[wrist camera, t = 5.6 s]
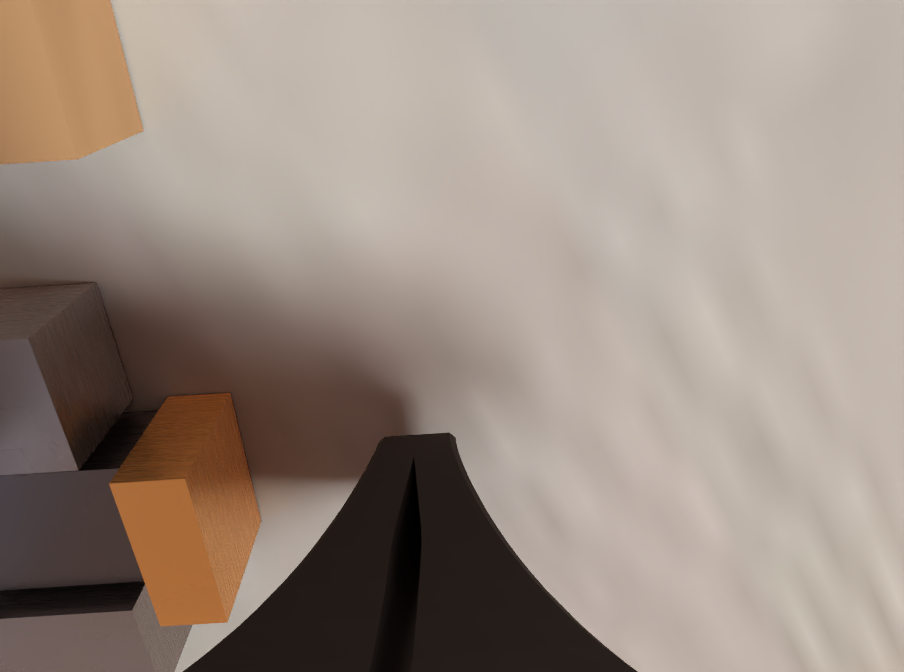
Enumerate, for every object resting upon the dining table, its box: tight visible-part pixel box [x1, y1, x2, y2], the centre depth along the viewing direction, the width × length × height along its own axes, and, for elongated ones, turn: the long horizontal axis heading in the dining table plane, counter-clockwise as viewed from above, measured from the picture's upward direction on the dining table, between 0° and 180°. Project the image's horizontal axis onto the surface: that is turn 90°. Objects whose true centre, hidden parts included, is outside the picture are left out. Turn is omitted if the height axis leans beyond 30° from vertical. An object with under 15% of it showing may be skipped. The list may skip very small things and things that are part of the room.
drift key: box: [0, 393, 261, 626], centre depth 12 cm, size 5×3×3 cm
